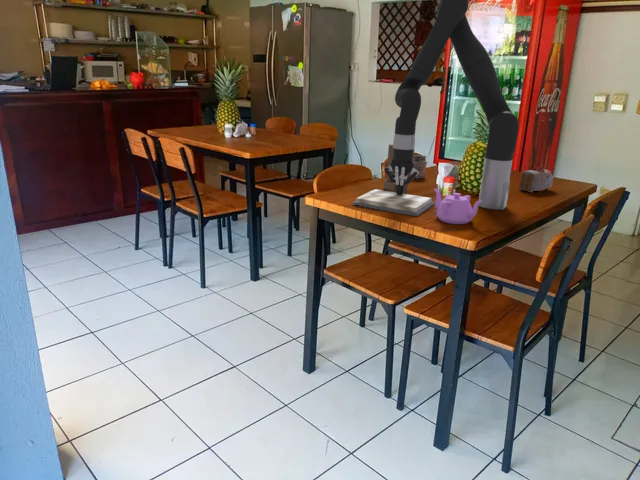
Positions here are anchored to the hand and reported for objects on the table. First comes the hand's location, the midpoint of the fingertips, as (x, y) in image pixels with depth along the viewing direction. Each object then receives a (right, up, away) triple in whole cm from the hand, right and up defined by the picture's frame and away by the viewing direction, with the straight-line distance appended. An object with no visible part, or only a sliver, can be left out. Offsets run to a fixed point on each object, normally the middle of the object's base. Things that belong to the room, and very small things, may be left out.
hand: (399, 194), depth 181 cm
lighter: (+14, +11, +42) cm, 45 cm away
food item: (+60, +4, +25) cm, 65 cm away
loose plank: (-1, -2, -1) cm, 2 cm away
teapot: (+15, -10, -19) cm, 26 cm away
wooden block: (+1, +2, +15) cm, 15 cm away
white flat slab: (-5, -5, -7) cm, 10 cm away
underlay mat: (-3, -4, -4) cm, 6 cm away
